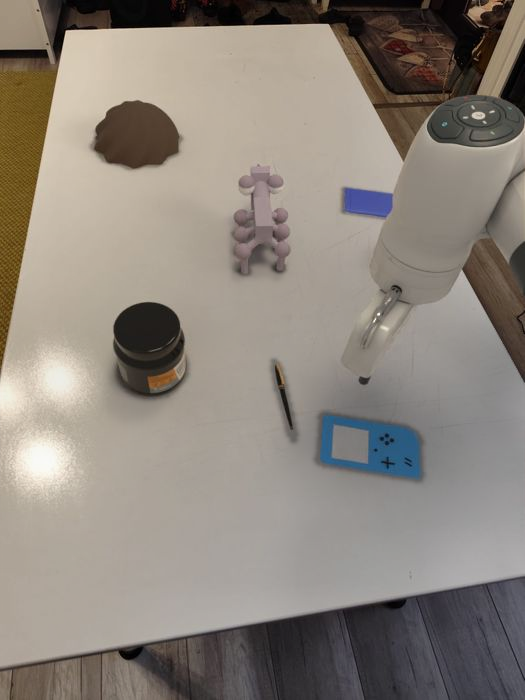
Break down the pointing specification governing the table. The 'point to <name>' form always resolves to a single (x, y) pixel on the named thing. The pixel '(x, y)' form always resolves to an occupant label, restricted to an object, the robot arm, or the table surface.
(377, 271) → the robot arm
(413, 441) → the handheld gaming device
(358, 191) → the hard drive
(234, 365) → the table surface
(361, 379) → the stylus
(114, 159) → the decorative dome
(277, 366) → the fountain pen
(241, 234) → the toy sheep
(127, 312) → the supplement container
